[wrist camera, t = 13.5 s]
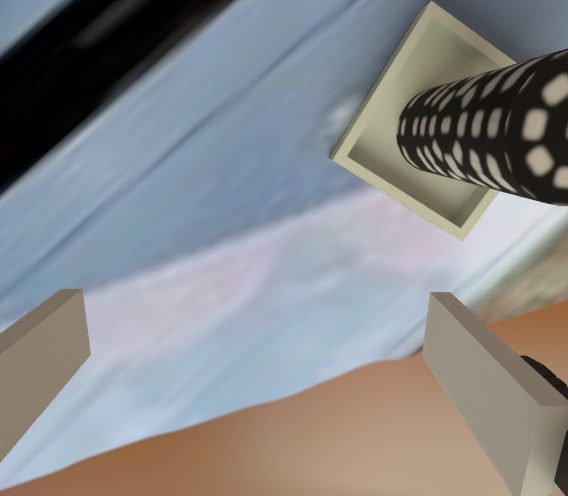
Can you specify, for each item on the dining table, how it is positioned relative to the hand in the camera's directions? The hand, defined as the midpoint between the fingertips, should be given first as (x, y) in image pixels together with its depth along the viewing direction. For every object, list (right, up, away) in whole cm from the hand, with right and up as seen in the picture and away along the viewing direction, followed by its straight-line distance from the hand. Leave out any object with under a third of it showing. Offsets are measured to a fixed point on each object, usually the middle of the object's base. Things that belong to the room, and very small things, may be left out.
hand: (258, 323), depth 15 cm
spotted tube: (+16, +15, +26) cm, 34 cm away
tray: (+17, +15, +26) cm, 34 cm away
